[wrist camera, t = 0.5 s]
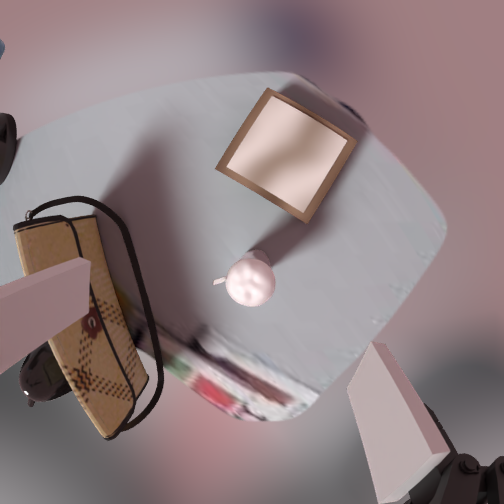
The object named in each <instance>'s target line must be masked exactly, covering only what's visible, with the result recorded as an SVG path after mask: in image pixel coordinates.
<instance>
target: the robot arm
mask: <svg viewBox="0 0 504 504" xmlns="http://www.w3.org/2000/svg"><path fill="white" fill-rule="evenodd" d="M4 50H5V45H4V43H3V41H2V40H1V39H0V59H1V57H2V55H3V53H4ZM16 137H17V130H16V123H15V120H14V118H13V117H12V115H10V114H5V113H0V185H1V184H2V182H3V181H4V180H5V178H6V176H7V174H8V172H9V169H10V167H11V164H12V160H13V157H14V152H15V147H16ZM90 266H91V261H88V260H86V259H83V258H81V257H78V258H75V259H72V260H69V261H67V262H64V263H61V264H58V265H55V266H53V267H50V268H47V269H44V270H42V271H39V272H36V273H34V274H31V275H28V276H26V277H23V278H21V279H18V280H15V281H13V282H10V283H8V284H5V285H3V286H0V374H1V373H3V372H4V371H5V370H6V369H8V368H10V367H11V366H12V365H14V364H15V363H16V362H18V361H19V360H21V359H22V358H23V357H25V356H26V355H28V354H29V353H30V352H32V351H33V350H35V349H36V348H38V347H39V346H40V345H42V344H43V343H45V342H46V341H48V340H49V339H51V338H52V337H53V336H55V335H56V334H58V333H59V332H61V331H62V330H64V329H65V328H67V327H68V326H70V325H71V324H73V323H74V322H76V321H77V320H79V319H80V318H82V317H83V316H85V315H86V314H88V313H89V284H90ZM347 392H348V396H349V398H350V402H351V405H352V408H353V412H354V415H355V418H356V422H357V425H358V428H359V432H360V435H361V439H362V442H363V446H364V449H365V453H366V456H367V460H368V464H369V468H370V472H371V475H372V479H373V483H374V487H375V491H376V495H377V499H378V504H381V503H389V502H394V501H398V500H399V499H400V498H401V497H403V496H404V495H405V494H407V493H408V492H409V495H410V499H409V500H408V501H406V502H405V503H404V504H487V503H488V504H504V456H500V457H498V458H497V459H496V460H495V461H494V462H493V463H492V464H491V465H490V466H489V467H487V466H480V464H479V462H478V461H477V460H476V459H475V458H474V457H472V456H471V455H469V454H465V453H464V454H459V455H458V453H457V451H456V449H455V448H454V446H453V444H452V442H451V441H450V439H449V437H448V435H447V434H446V432H445V430H444V429H442V428H443V427H442V425H441V424H440V422H438V419H437V417H436V415H435V414H434V412H433V411H432V410H431V409H430V408H429V407H428V406H427V405H426V404H425V403H423V402H422V401H421V399H420V398H419V396H418V395H417V393H416V391H415V389H414V388H413V386H412V385H411V383H410V382H409V380H408V378H407V377H406V375H405V374H404V372H403V371H402V369H401V368H400V366H399V364H398V363H397V361H396V360H395V358H394V357H393V355H392V354H391V352H390V351H389V349H388V348H387V346H386V345H385V344H382V343H376V342H370V344H369V346H368V348H367V350H366V353H365V355H364V357H363V359H362V361H361V363H360V365H359V367H358V369H357V371H356V373H355V374H354V376H353V378H352V380H351V382H350V384H349V386H348V387H347Z"/></svg>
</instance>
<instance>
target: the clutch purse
mask: <svg viewBox="0 0 504 504" xmlns="http://www.w3.org/2000/svg"><path fill="white" fill-rule="evenodd" d="M71 202H82V203H86V204H90V205H92V206H95V207H97V208H98V209H100V210H101V211H103V212H104V213H106V214H107V215H108V216H109V217H111V218H112V219H113V220H114V221H115V222H116V224H117V225H118V226H119V228H120V230H121V232H122V235H123V238H124V241H125V244H126V247H127V250H128V253H129V257H130V260H131V263H132V267H133V270H134V273H135V277H136V280H137V284H138V287H139V291H140V294H141V298H142V302H143V306H144V310H145V314H146V318H147V322H148V326H149V330H150V334H151V338H152V343H153V348H154V353H155V359H156V365H157V371H158V383H157V388H156V391H155V394H154V396H153V398H152V400H151V401H150V403H149V404H148V406H147V407H146V408H145V409H144V411H143V412H142V413H141V414H139V415H138V416H137V417H136V418H135V419H134V420H132V421H131V422H129V423H127V422H128V421H129V419H130V418H131V416H132V414H133V413H134V409H135V405H136V401H137V399H138V398H139V396H140V395H141V393H142V392H143V390H144V389H145V387H146V385H147V383H148V381H149V376H148V374H147V373H146V371H145V369H144V367H143V364H142V362H141V360H140V357H139V355H138V353H137V350H136V348H135V346H134V343H133V341H132V338H131V335H130V333H129V330H128V328H127V325H126V322H125V320H124V317H123V314H122V311H121V308H120V305H119V302H118V299H117V296H116V293H115V290H114V287H113V284H112V281H111V277H110V274H109V270H108V267H107V263H106V260H105V256H104V252H103V248H102V244H101V240H100V236H99V232H98V227H97V223H96V215H86V216H80V217H74V218H66V217H64V216H62V215H56V216H48V217H42V218H37V219H33V216H35V215H36V214H38V213H39V212H41V211H43V210H45V209H47V208H50V207H53V206H57V205H61V204H66V203H71ZM28 212H30V214H29V218H27V213H28ZM27 213H26V216H25V218H26V221H23V222H20V223H17V224H15V225H14V226H13V230H14V234H15V239H16V243H17V248H18V253H19V257H20V261H21V265H22V269H23V272H24V276H25V277H26V276H28V275H31V274H34V273H36V272H39V271H42V270H44V269H47V268H50V267H53V266H55V265H58V264H61V263H64V262H67V261H69V260H72V259H75V258H78V257H81V258H83V259H86V260H88V261H91V266H90V284H89V313H88V314H86V315H85V316H83V317H82V318H80V319H79V320H77V321H76V322H74V323H73V324H71V325H70V326H68V327H67V328H65V329H64V330H62V331H61V332H59V333H58V334H56V335H55V336H53V337H52V338H51V339H49V340H48V342H49V345H50V347H51V349H52V351H53V353H54V356H55V358H56V360H57V362H58V364H59V366H60V368H61V370H62V372H63V374H64V375H65V377H66V379H67V381H68V383H69V385H70V386H71V388H72V390H73V392H74V393H75V395H76V397H77V399H78V400H79V402H80V403H81V405H82V407H83V408H84V410H85V411H86V413H87V415H88V416H89V418H90V419H91V421H92V422H93V423H94V425H95V426H96V428H97V429H98V431H99V432H100V434H101V435H102V436H103V438H104V439H105V440H108V441H109V440H112V439H114V438H116V437H117V436H118V435H119V433H120V432H123V431H126V430H129V429H130V428H133V427H134V426H136V425H137V424H139V423H140V422H141V421H142V420H143V419H144V418H145V417H146V416H147V415H148V414H149V413H150V412H151V411H152V409H153V408H154V407H155V405H156V403H157V402H158V400H159V398H160V395H161V393H162V389H163V384H164V371H163V364H162V358H161V352H160V347H159V342H158V337H157V333H156V329H155V324H154V320H153V316H152V312H151V308H150V304H149V300H148V296H147V293H146V290H145V286H144V283H143V279H142V276H141V272H140V268H139V264H138V261H137V258H136V254H135V251H134V248H133V244H132V241H131V238H130V235H129V232H128V230H127V227H126V225H125V224H124V222H123V221H122V219H121V218H120V217H119V216H118V215H117V214H116V213H115V212H114V211H112V210H111V209H110V208H108V207H107V206H106V205H104V204H103V203H101V202H99V201H97V200H95V199H92V198H89V197H84V196H71V197H66V198H61V199H56V200H53V201H49V202H47V203H44V204H42V205H40V206H39V207H37V208H36V209H34V210H32V211H31V210H28V211H27ZM27 219H29V220H27Z"/></svg>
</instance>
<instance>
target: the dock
mask: <svg viewBox="0 0 504 504" xmlns="http://www.w3.org/2000/svg"><path fill="white" fill-rule="evenodd" d="M357 142H358V141H357V140H355V139H354V138H352V137H351V136H349V135H348V134H347V133H345V132H344V131H342V130H341V129H339V128H337V127H336V126H334V125H333V124H331V123H330V122H328V121H327V120H325V119H323V118H322V117H320V116H318V115H317V114H315V113H313V112H312V111H310V110H308V109H307V108H305V107H303V106H301V105H300V104H298V103H296V102H294V101H292V100H291V99H289V98H287V97H285V96H283V95H281V94H279V93H277V92H276V91H274V90H272V89H270V88H268V87H267V89H266V90H265V91H264V93H263V94H262V96H261V97H260V99H259V100H258V102H257V103H256V105H255V106H254V108H253V109H252V111H251V112H250V114H249V115H248V117H247V118H246V120H245V121H244V123H243V124H242V126H241V127H240V129H239V130H238V132H237V134H236V135H235V137H234V138H233V140H232V142H231V143H230V145H229V146H228V148H227V150H226V151H225V153H224V155H223V156H222V158H221V159H220V161H219V163H218V164H217V166H216V168H215V169H216V170H218V171H220V172H221V173H223V174H225V175H227V176H228V177H230V178H232V179H234V180H235V181H237V182H239V183H240V184H242V185H244V186H246V187H247V188H249V189H251V190H252V191H254V192H256V193H257V194H259V195H261V196H262V197H264V198H266V199H267V200H269V201H271V202H272V203H274V204H276V205H277V206H279V207H280V208H282V209H284V210H285V211H287V212H288V213H290V214H292V215H293V216H295V217H296V218H298V219H300V220H301V221H303V222H304V223H306V224H308V222H309V221H310V219H311V218H312V216H313V214H314V213H315V211H316V210H317V208H318V206H319V205H320V203H321V202H322V200H323V198H324V197H325V195H326V193H327V192H328V190H329V188H330V187H331V185H332V184H333V182H334V180H335V179H336V177H337V175H338V174H339V172H340V170H341V169H342V167H343V165H344V164H345V162H346V160H347V159H348V157H349V155H350V153H351V152H352V150H353V148H354V147H355V145H356V143H357Z"/></svg>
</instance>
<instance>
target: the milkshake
mask: <svg viewBox="0 0 504 504" xmlns="http://www.w3.org/2000/svg"><path fill="white" fill-rule="evenodd" d="M224 281H226V288H227V291H228V293H229V295H230V296H231V297H232V298H233V299H234V300H235V301H236V302H237V303H239V304H242V305H245V306H250V307H254V306H259V305H262V304H263V303H265V302H266V301H267V300H268V299H269V298H270V297H271V296H272V294H273V292H274V290H275V276H274V273H273V271H272V268H271V265H270V261H269V257H268V256H267V255H266V254H265V253H264V252H263V251H261V250H257V249H253V250H251V251H248V252H246V253H245V254H244V255H243V256H242V257H241V258H240V259H239V261H237V262H236V263H235V264H234V265H232V266H231V268H230V269H229V271H228V273H227V276H225V277H222V278H219V279H216V280H214V281H213V285H216V284H218V283H221V282H224Z"/></svg>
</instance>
